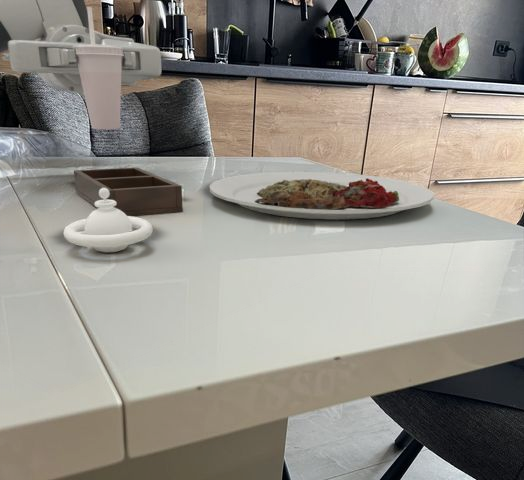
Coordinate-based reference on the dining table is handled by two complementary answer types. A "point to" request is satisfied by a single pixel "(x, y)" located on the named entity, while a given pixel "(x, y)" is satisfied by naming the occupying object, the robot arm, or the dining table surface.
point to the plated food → (321, 194)
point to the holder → (130, 190)
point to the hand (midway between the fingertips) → (101, 58)
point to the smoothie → (100, 80)
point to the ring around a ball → (107, 227)
